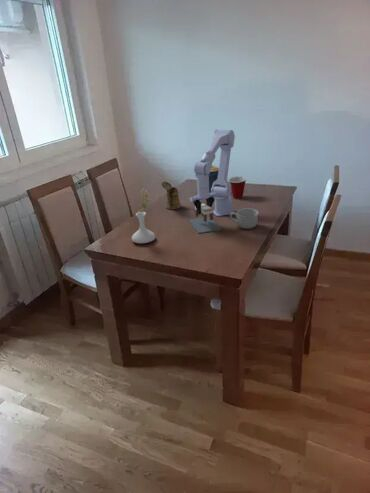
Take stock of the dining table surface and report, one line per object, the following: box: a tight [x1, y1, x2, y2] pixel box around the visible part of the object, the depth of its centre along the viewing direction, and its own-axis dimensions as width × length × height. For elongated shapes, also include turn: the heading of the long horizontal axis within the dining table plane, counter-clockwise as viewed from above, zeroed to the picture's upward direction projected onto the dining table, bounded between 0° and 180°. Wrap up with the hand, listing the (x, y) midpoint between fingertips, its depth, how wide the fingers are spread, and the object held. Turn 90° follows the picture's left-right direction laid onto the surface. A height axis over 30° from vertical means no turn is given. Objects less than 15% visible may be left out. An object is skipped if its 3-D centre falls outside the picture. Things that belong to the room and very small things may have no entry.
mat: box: [188, 216, 222, 235], centre depth 188 cm, size 18×12×1 cm, turn 15°
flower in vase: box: [131, 187, 156, 244], centre depth 171 cm, size 13×11×25 cm
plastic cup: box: [227, 175, 247, 200], centre depth 222 cm, size 11×11×12 cm
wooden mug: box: [160, 181, 182, 211], centre depth 210 cm, size 9×14×18 cm, turn 157°
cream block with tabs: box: [194, 202, 214, 222], centre depth 185 cm, size 10×5×6 cm, turn 28°
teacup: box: [229, 207, 259, 230], centre depth 182 cm, size 14×11×8 cm
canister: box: [209, 163, 221, 193], centre depth 237 cm, size 13×13×18 cm
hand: (204, 212), depth 185 cm, fingers closed on cream block with tabs, 5 cm apart
